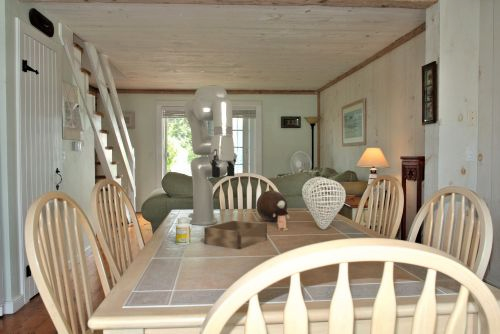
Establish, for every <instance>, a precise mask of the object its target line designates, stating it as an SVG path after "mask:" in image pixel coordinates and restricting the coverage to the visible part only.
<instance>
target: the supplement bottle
mask: <svg viewBox="0 0 500 334" xmlns="http://www.w3.org/2000/svg"><path fill="white" fill-rule="evenodd" d="M190 243H191V223H190V222H189V217H184V216H182V217H178V218H177V223H176V225H175V244H176V245H177V246H187V245H190Z"/></svg>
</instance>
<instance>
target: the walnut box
mask: <svg viewBox="0 0 500 334" xmlns="http://www.w3.org/2000/svg"><path fill="white" fill-rule="evenodd" d="M203 229H204V230H203V231H204V244H205V245H210V246H216V247H223V248H229V249H235V250H242V249H245V248H247V246H248V247H250V245H251V246H253V245H255V244H258V243H259V244H260V243H261V242H264V241H265V242H266V241H267V240H268V224H267V223H259V222H250V221H242V220H240V221H239V220H230V221H225V222H221V223H218V224H213V225H209V226H206V227H204V228H203Z"/></svg>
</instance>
